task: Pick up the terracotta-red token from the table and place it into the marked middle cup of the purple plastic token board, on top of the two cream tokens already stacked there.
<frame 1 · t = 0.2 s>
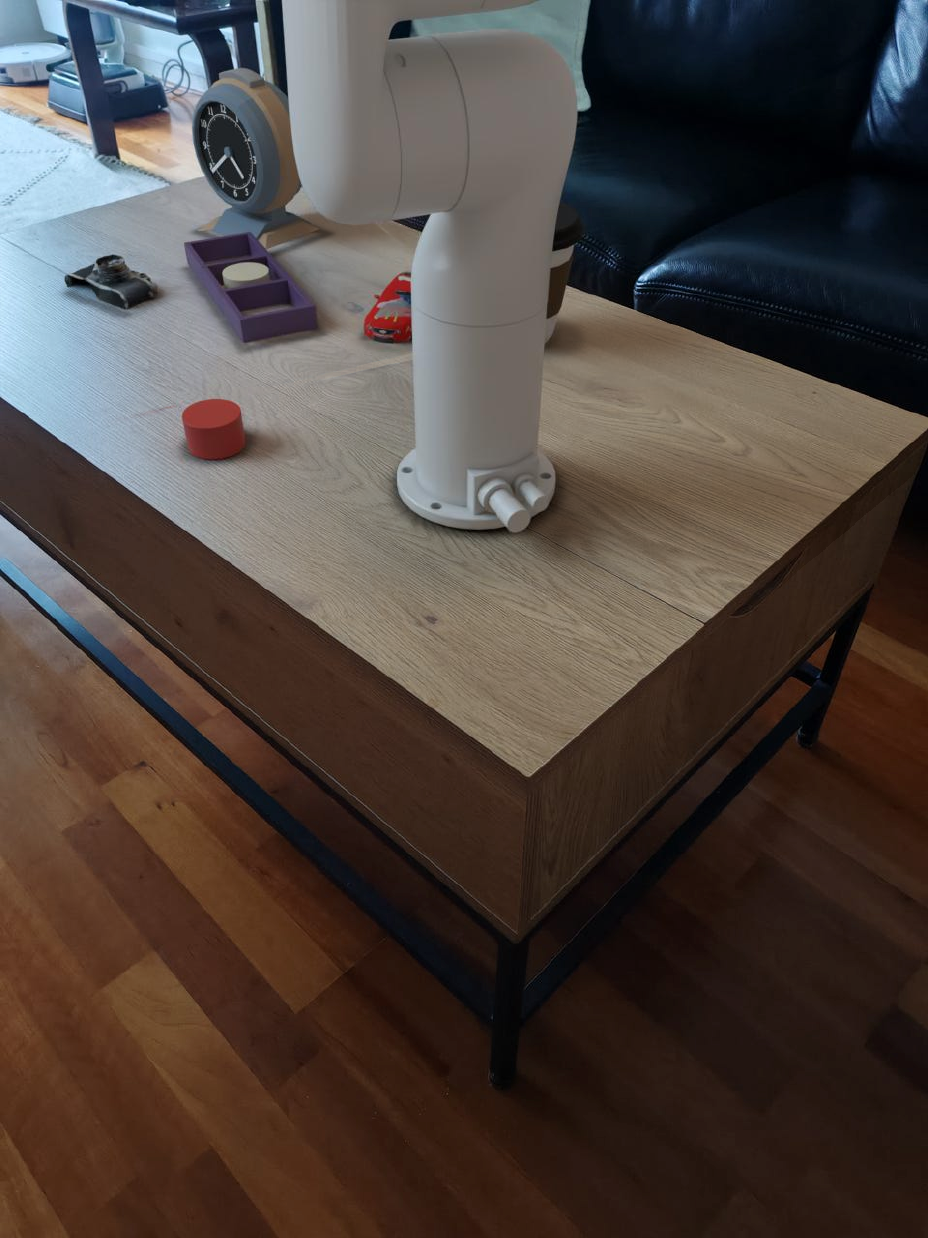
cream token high: (247, 282, 102), point 2 cm above the table, touching cream token low
red token: (217, 444, 82), on the table
cream token low: (248, 293, 103), point 1 cm above the table, touching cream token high, token board
race car: (406, 322, 100), on the table
alarm clock: (262, 234, 118), on the table
token board: (249, 299, 104), on the table
camera: (113, 298, 104), on the table
coffee cup: (519, 337, 98), on the table
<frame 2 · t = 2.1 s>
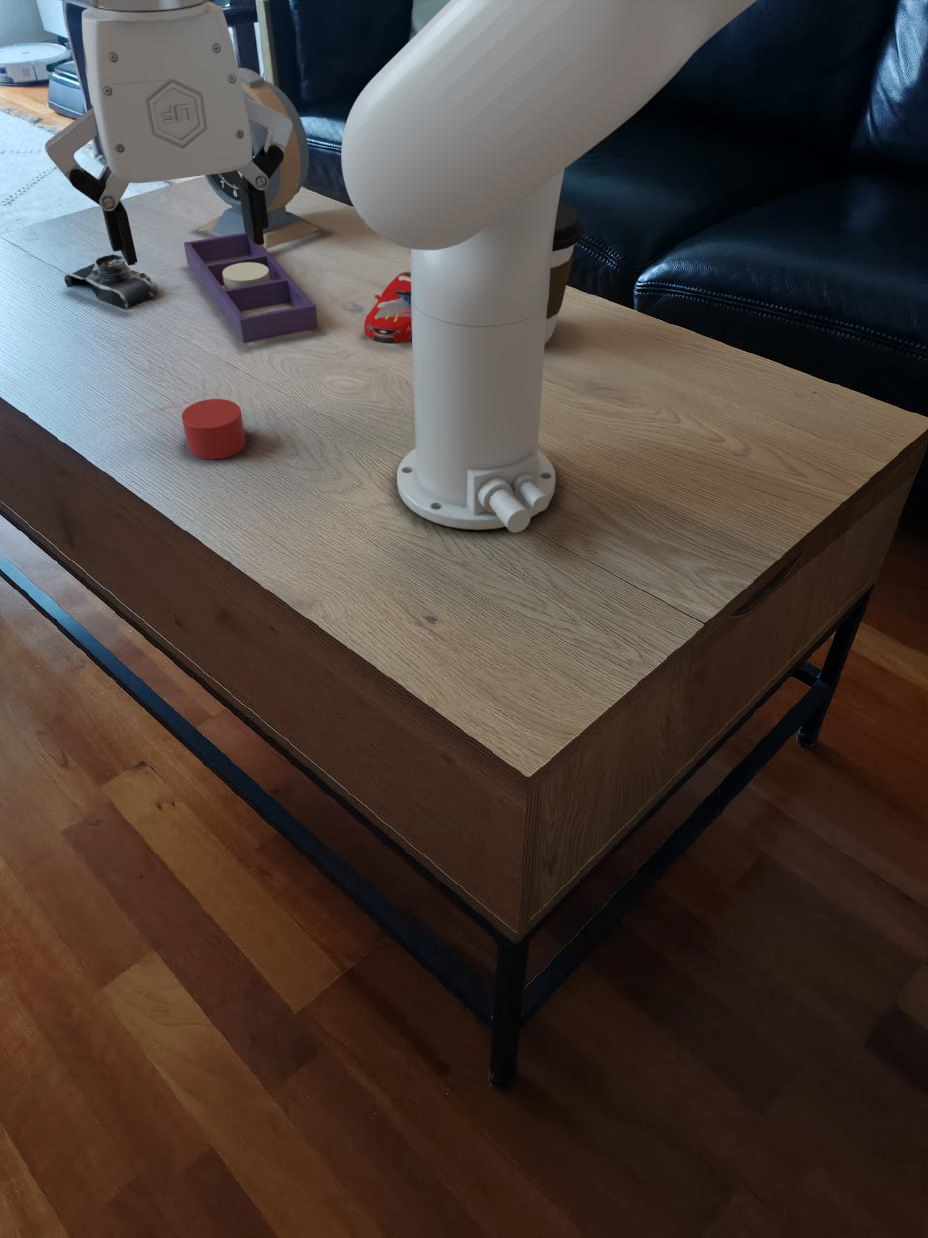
hand: (193, 248, 74), 15 cm above the table, tool pointing down, fingers open, 9 cm apart
nothing on the table moved.
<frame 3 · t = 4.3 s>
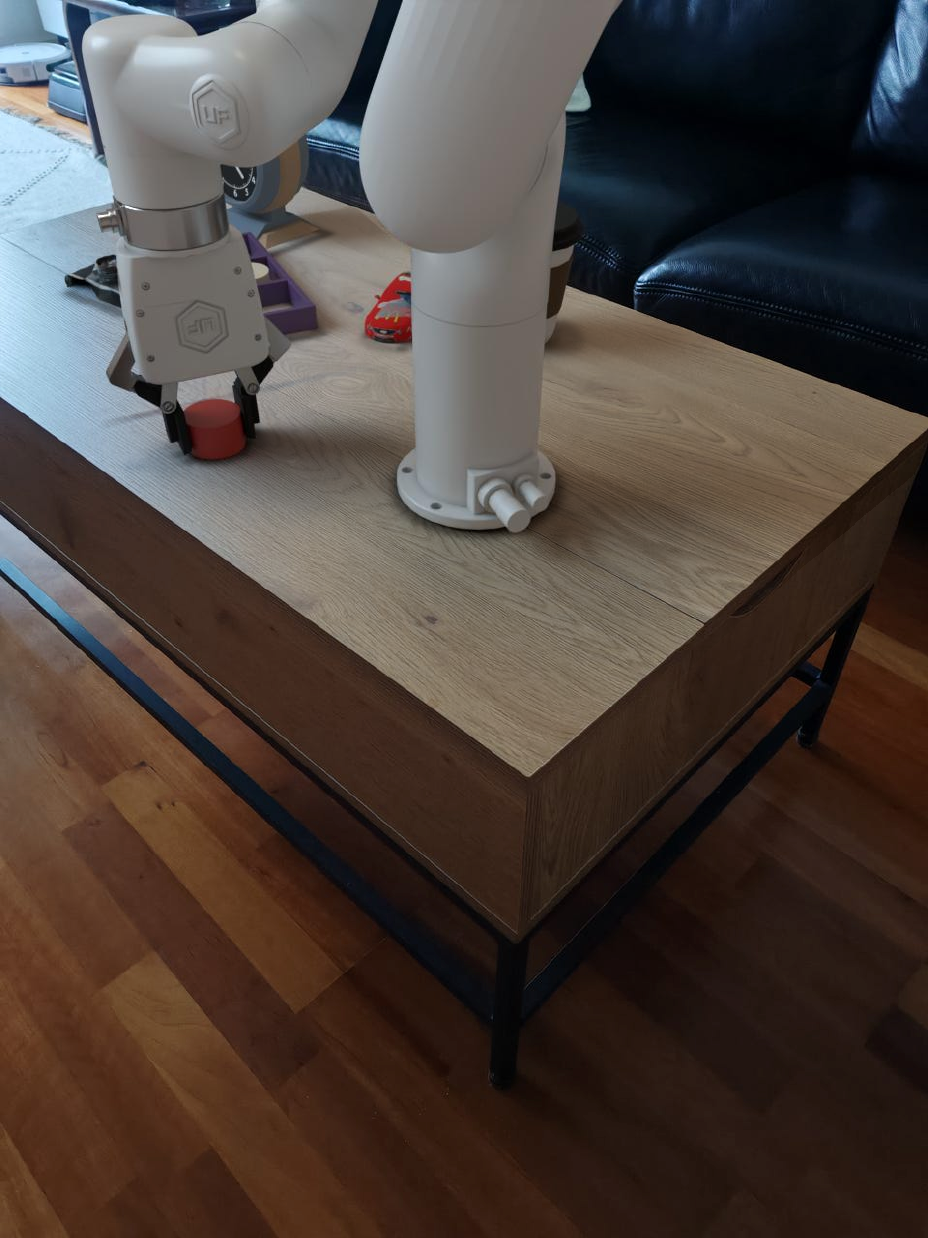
hand: (215, 437, 82), 1 cm above the table, tool pointing down, fingers closed on red token, 4 cm apart
red token: (217, 444, 82), on the table, touching gripper
everything else where it was.
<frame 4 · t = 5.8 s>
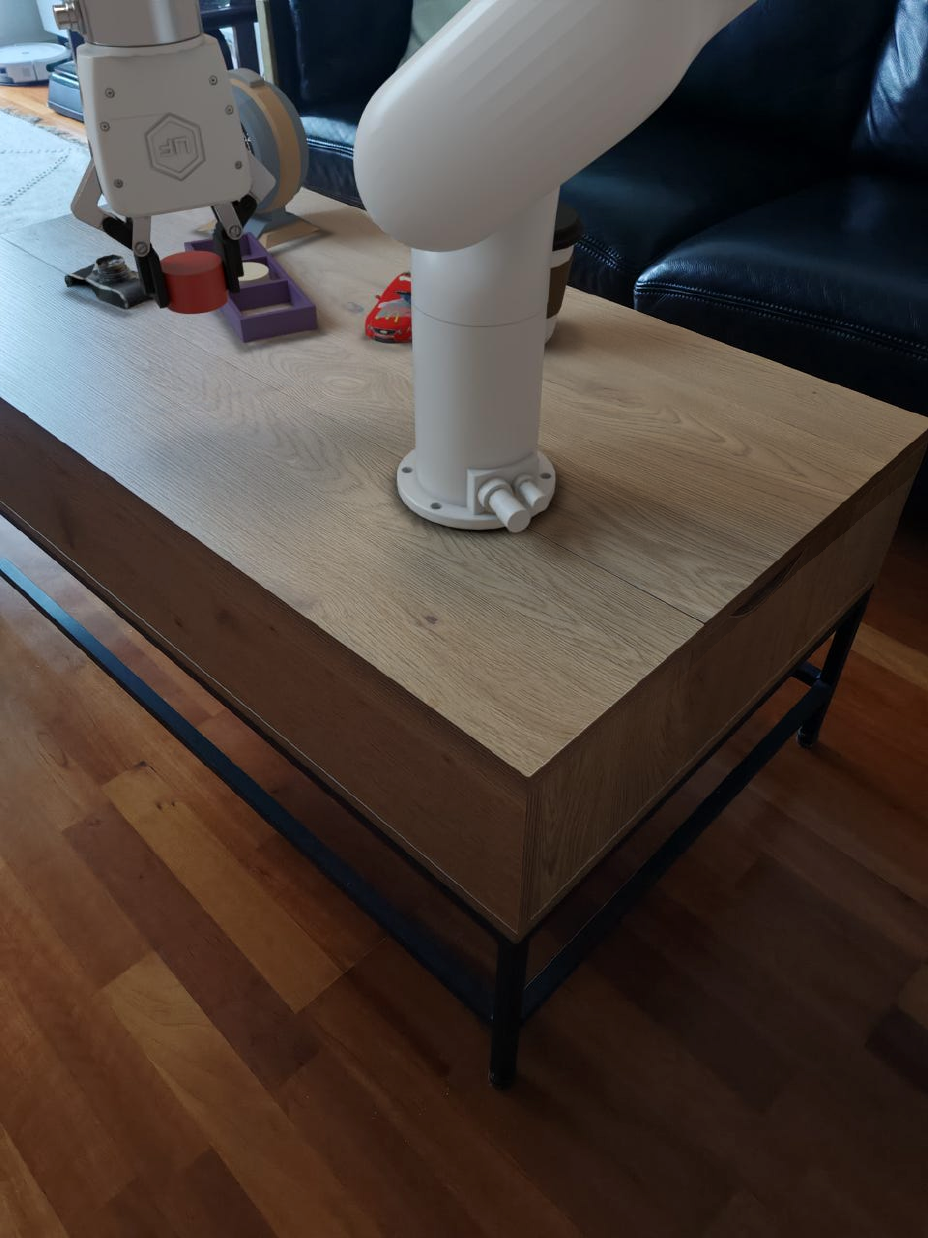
hand: (195, 291, 74), 13 cm above the table, tool pointing down, fingers closed on red token, 4 cm apart
red token: (197, 301, 75), point 12 cm above the table, touching gripper
everything else where it was.
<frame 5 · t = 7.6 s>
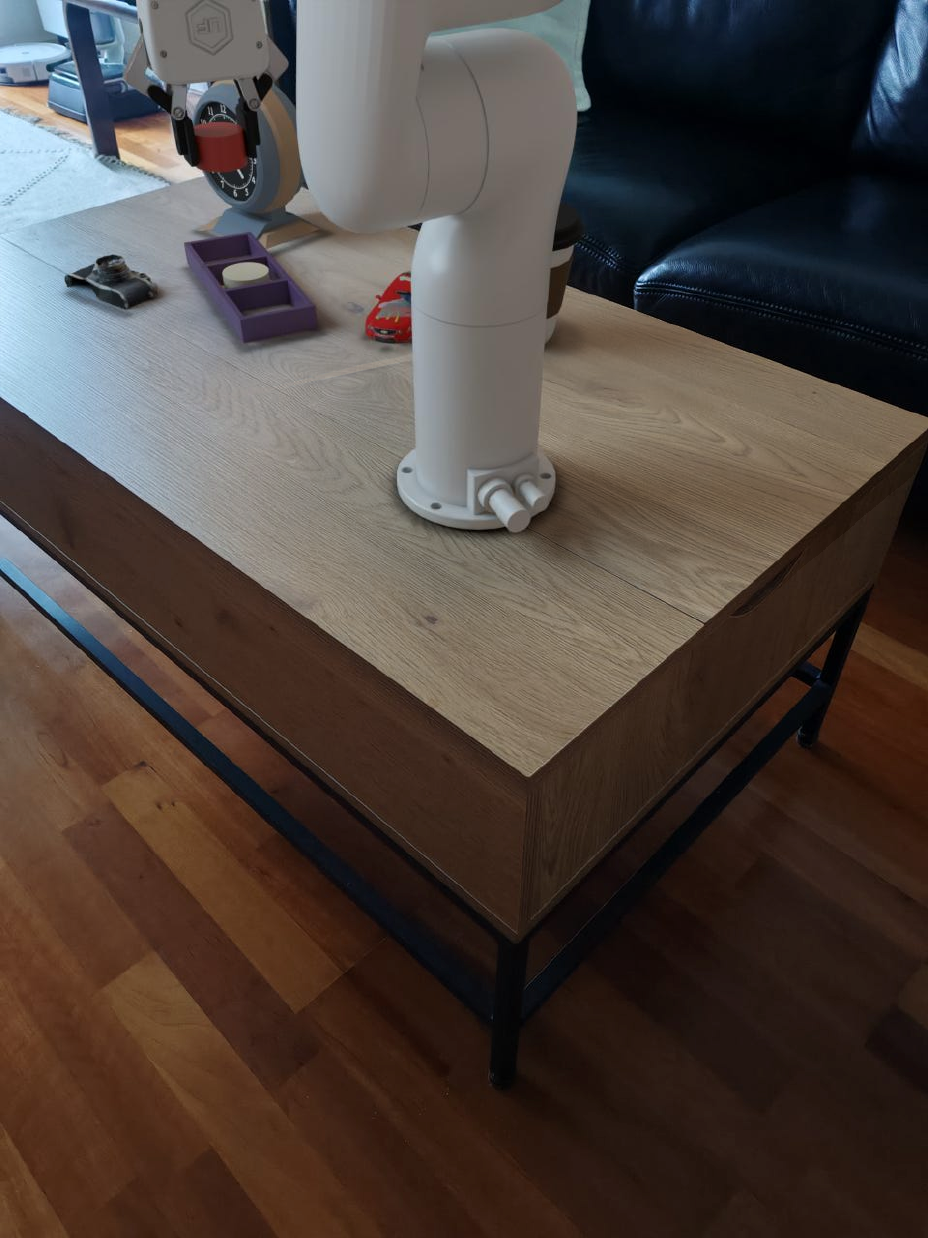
hand: (220, 156, 90), 16 cm above the table, tool pointing down, fingers closed on red token, 4 cm apart
red token: (221, 163, 91), point 15 cm above the table, touching gripper
everything else where it was.
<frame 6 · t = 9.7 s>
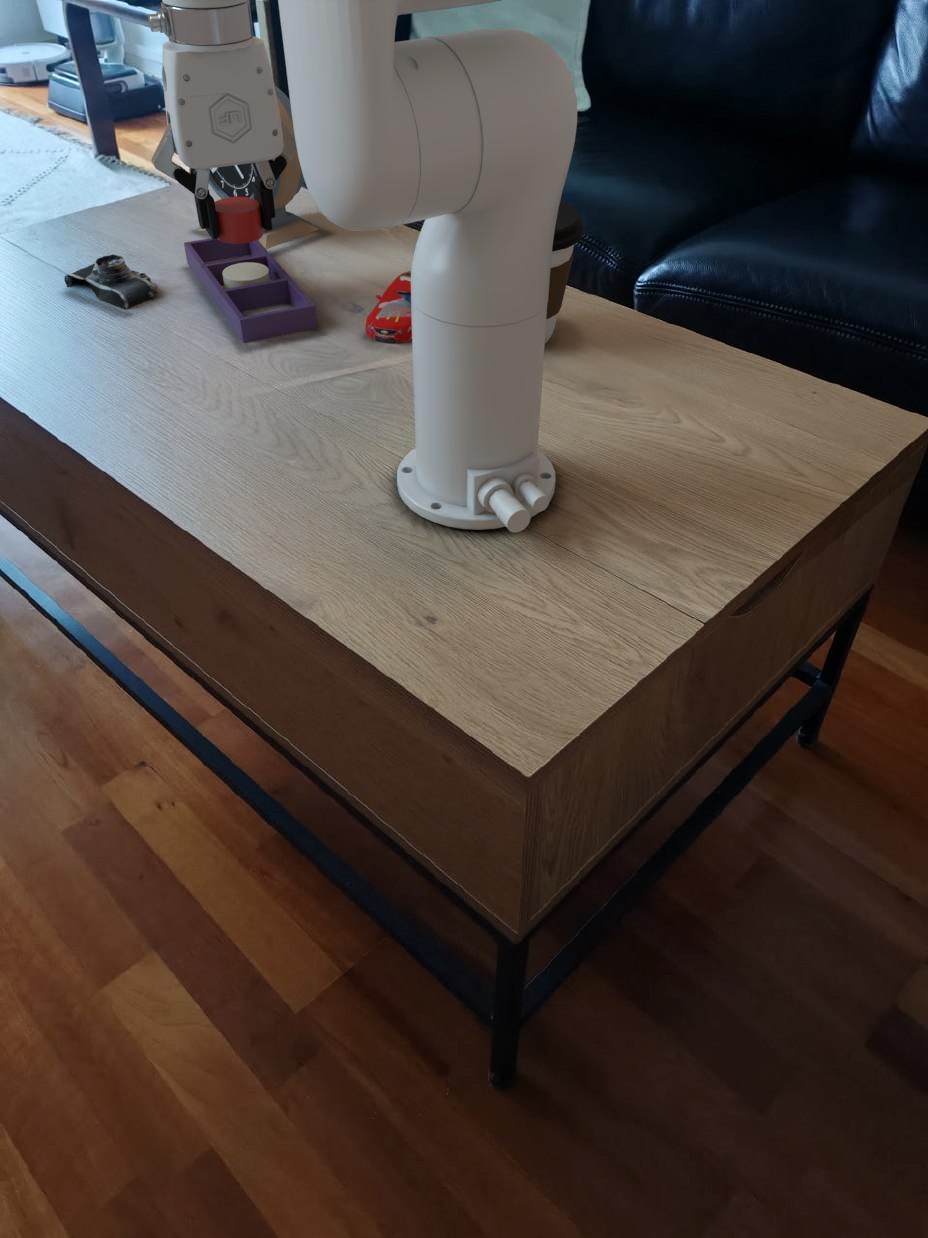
hand: (238, 228, 99), 7 cm above the table, tool pointing down, fingers closed on red token, 4 cm apart
red token: (239, 234, 99), point 7 cm above the table, touching gripper
everything else where it was.
when the fingers open (4 cm above the table, at t = 11.0 s): red token stays where it is, resting on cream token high.
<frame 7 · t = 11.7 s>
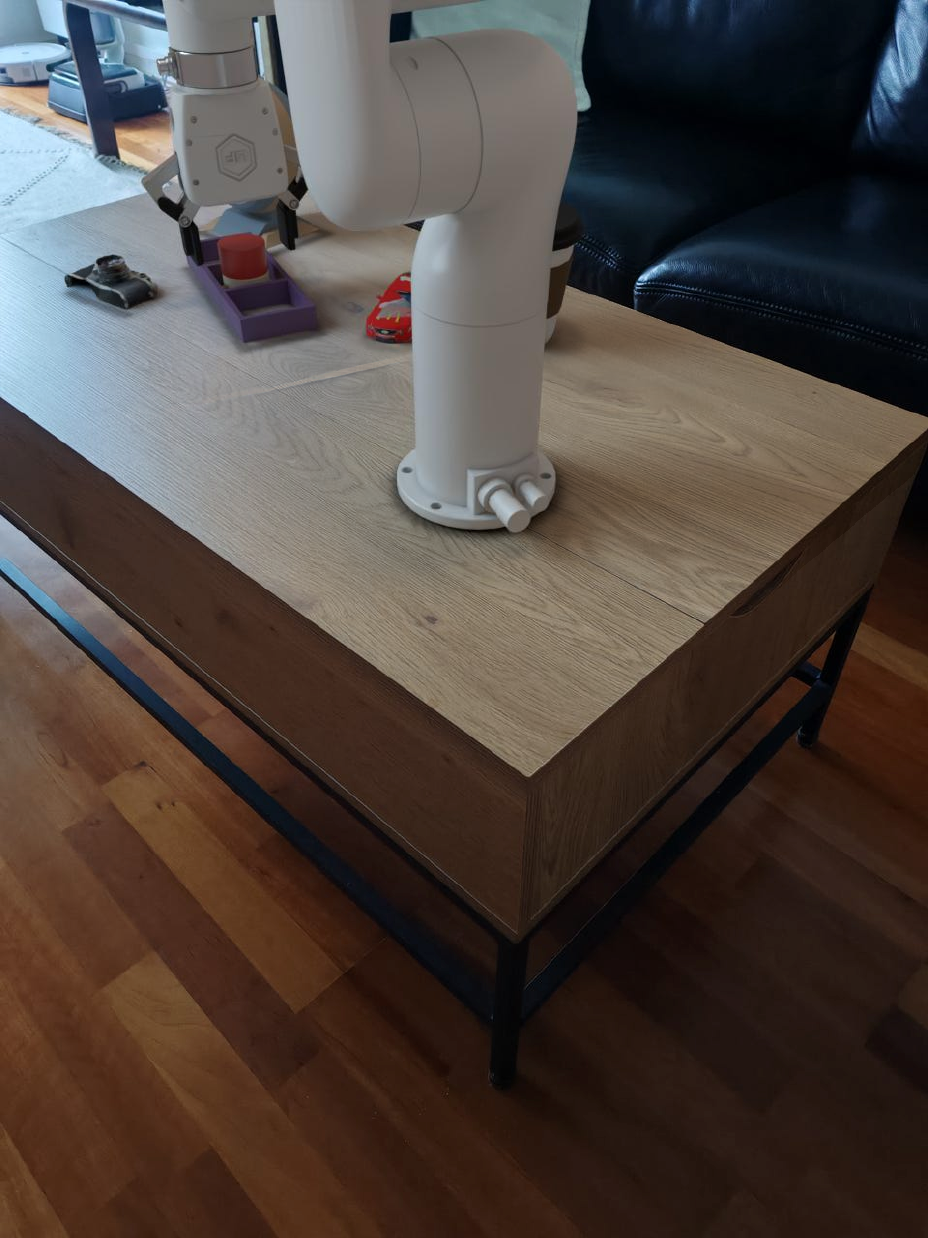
hand: (243, 253, 100), 5 cm above the table, tool pointing down, fingers open, 9 cm apart
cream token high: (247, 282, 102), point 2 cm above the table, touching cream token low, red token
red token: (245, 270, 102), point 3 cm above the table, touching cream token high
everything else where it was.
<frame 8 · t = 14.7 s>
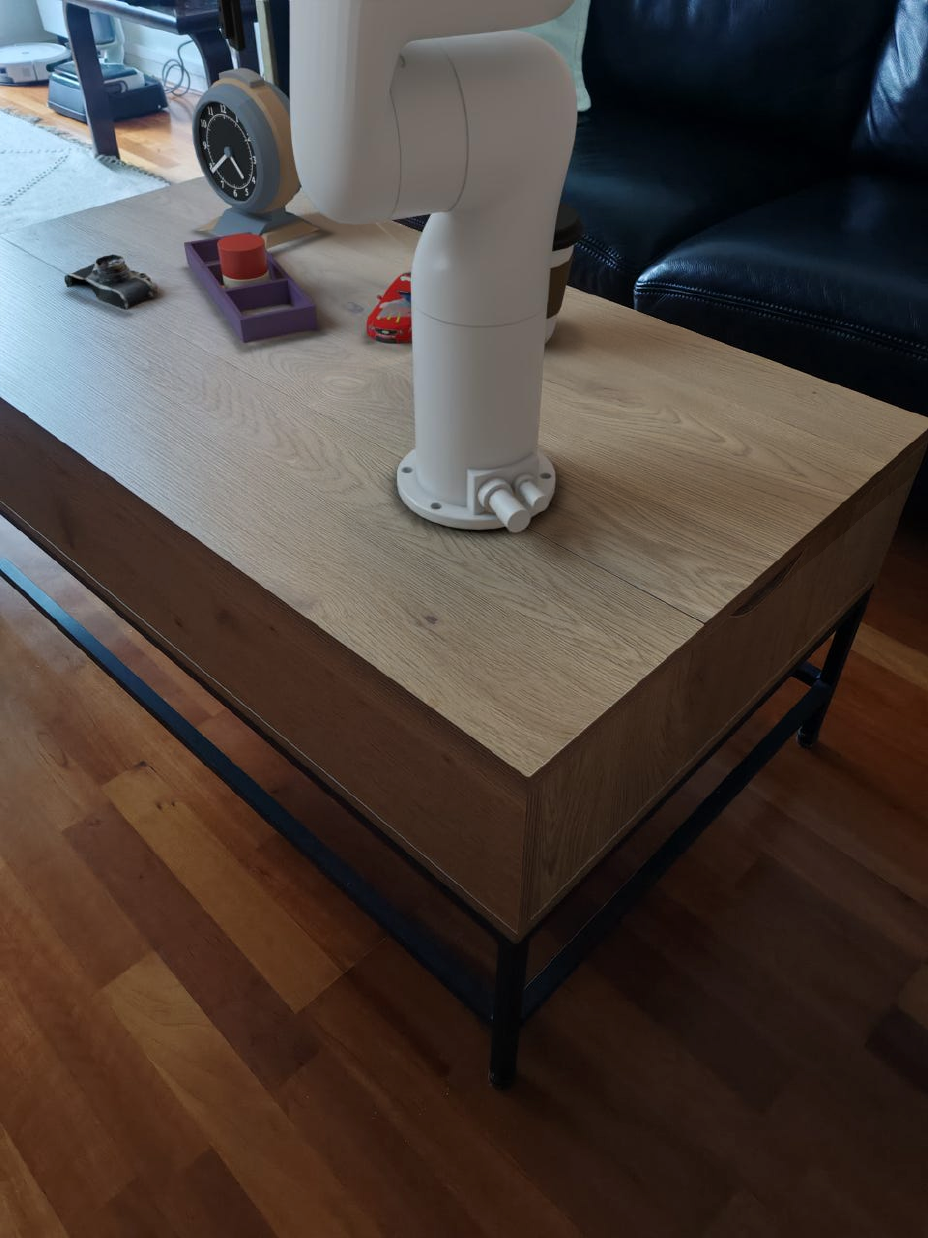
hand: (289, 42, 87), 24 cm above the table, tool pointing down, fingers open, 9 cm apart
nothing on the table moved.
at the end: red token 0.1 cm off-centre on the token board, point 3.1 cm above the token board's base; red token tilted 0°; the gripper is holding nothing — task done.
